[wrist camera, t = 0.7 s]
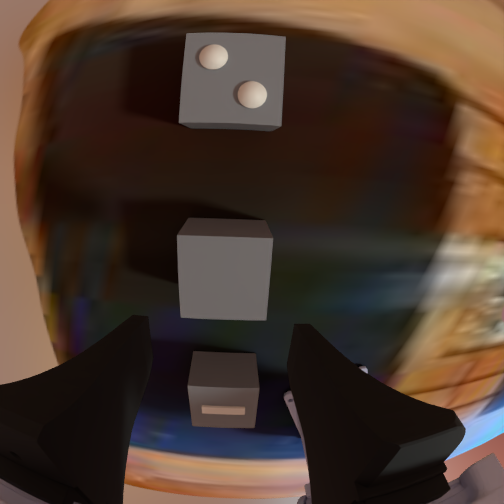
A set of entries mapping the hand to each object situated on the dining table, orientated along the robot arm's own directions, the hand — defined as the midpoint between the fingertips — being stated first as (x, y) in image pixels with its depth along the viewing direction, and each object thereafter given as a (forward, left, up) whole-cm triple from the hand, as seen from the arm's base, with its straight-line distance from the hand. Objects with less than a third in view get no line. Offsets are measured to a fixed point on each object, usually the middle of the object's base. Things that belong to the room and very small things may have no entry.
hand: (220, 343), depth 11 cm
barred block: (-10, +4, -10) cm, 14 cm away
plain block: (0, 0, -10) cm, 10 cm away
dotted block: (+10, -4, -10) cm, 14 cm away
